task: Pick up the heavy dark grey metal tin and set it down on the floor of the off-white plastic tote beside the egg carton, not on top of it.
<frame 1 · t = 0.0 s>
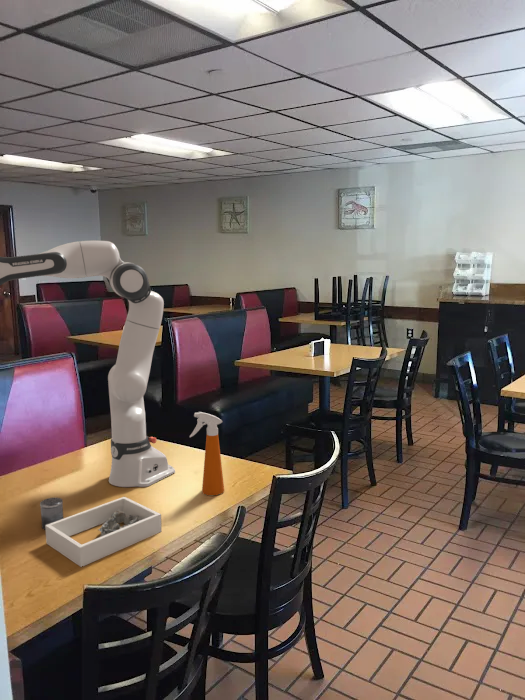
egg carton: (119, 532, 152), resting in tote
metal tin: (52, 525, 155), on the table
tote: (105, 537, 149), on the table
spray bottle: (207, 492, 178), on the table
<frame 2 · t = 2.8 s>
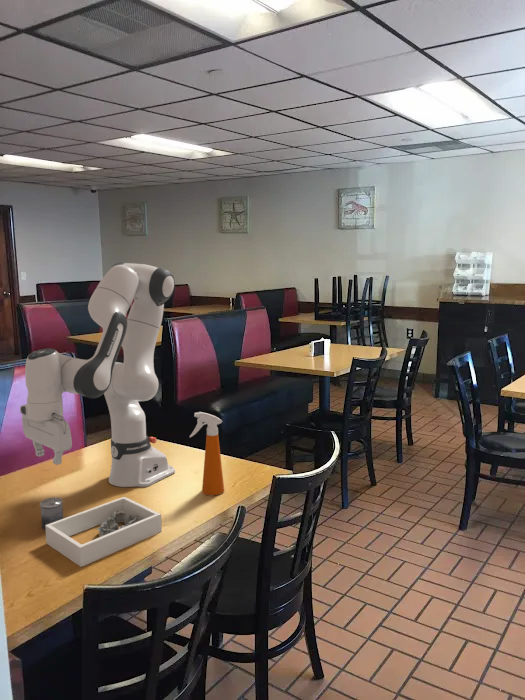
hand: (48, 459, 152), 19 cm above the table, tool pointing down, fingers open, 8 cm apart
nothing on the table moved.
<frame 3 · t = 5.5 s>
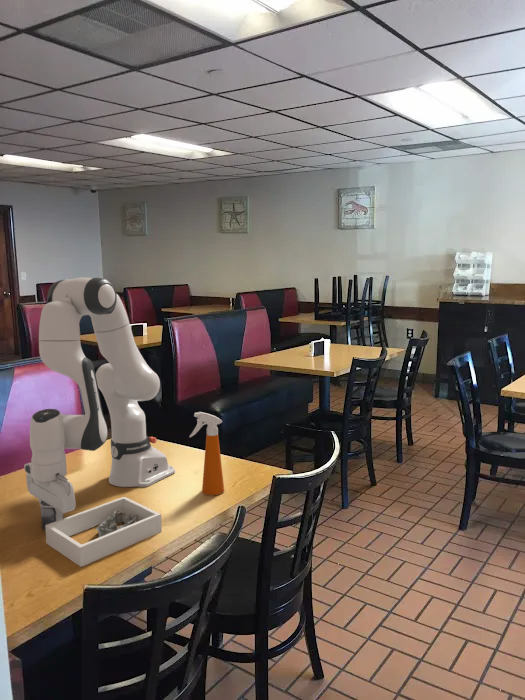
hand: (52, 517, 155), 2 cm above the table, tool pointing down, fingers closed on metal tin, 6 cm apart
metal tin: (52, 525, 155), on the table, touching gripper
everything else where it was.
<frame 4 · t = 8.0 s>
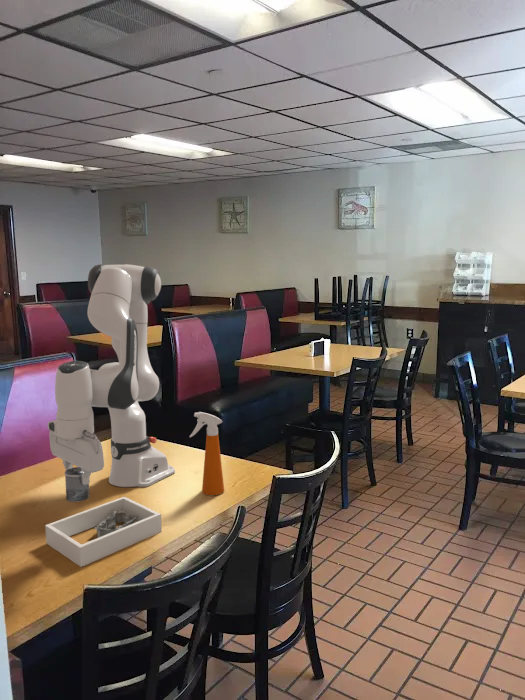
hand: (77, 479, 142), 18 cm above the table, tool pointing down, fingers closed on metal tin, 6 cm apart
metal tin: (77, 497, 143), point 13 cm above the table, touching gripper
everything else where it was.
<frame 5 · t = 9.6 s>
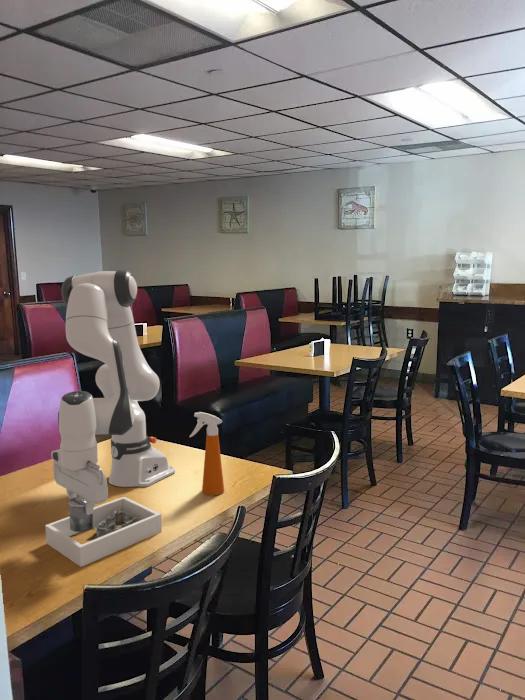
hand: (81, 509, 143), 10 cm above the table, tool pointing down, fingers closed on metal tin, 6 cm apart
metal tin: (81, 526, 143), point 5 cm above the table, touching gripper
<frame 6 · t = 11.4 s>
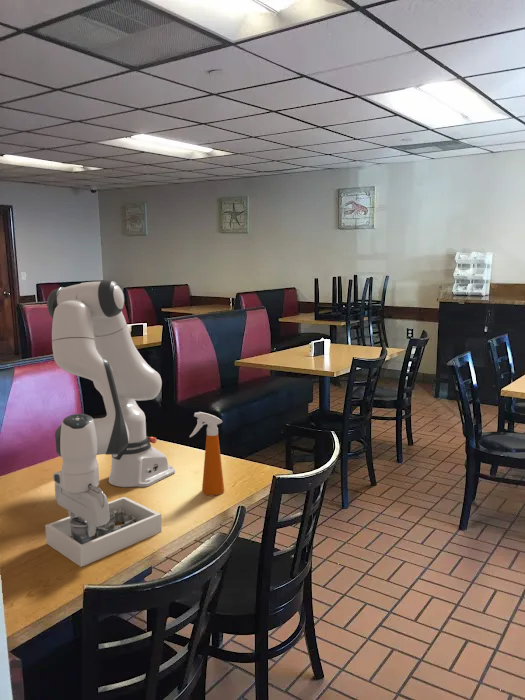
hand: (83, 530, 144), 4 cm above the table, tool pointing down, fingers closed on metal tin, 5 cm apart
metal tin: (83, 546, 144), resting in tote, touching gripper
when the fingers open (4 cm above the table, at t = 11.6 s): metal tin stays where it is, resting in tote.
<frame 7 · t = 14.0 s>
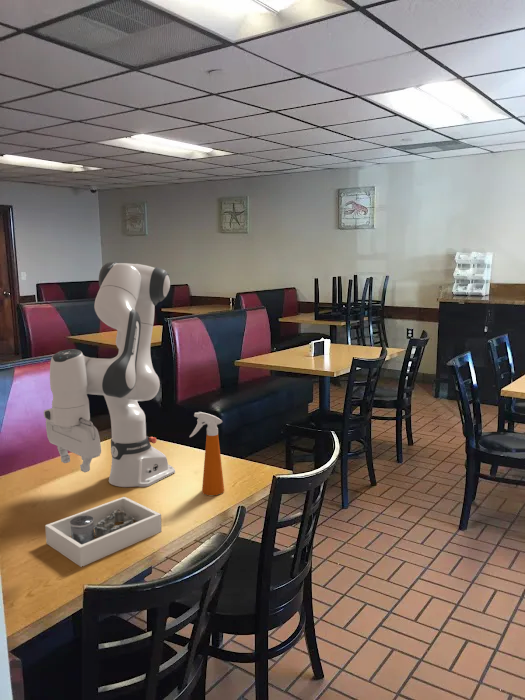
hand: (75, 466, 144), 20 cm above the table, tool pointing down, fingers open, 8 cm apart
metal tin: (83, 546, 144), resting in tote
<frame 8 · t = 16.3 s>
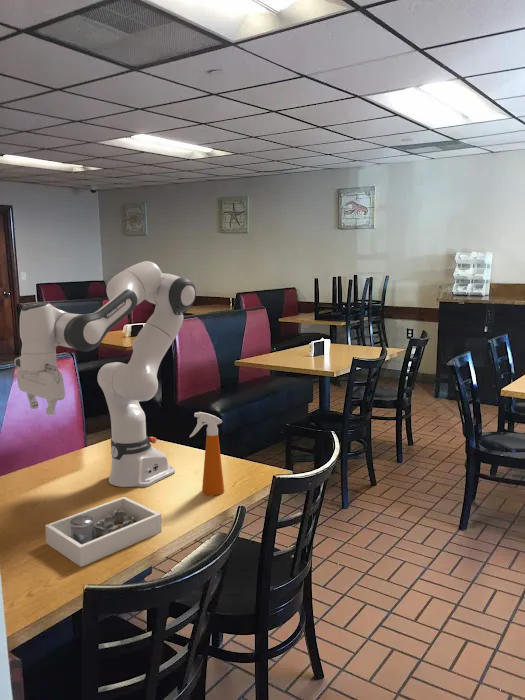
hand: (42, 411, 156), 31 cm above the table, tool pointing down, fingers open, 8 cm apart
at the end: metal tin inside the target area (0.4 cm from its centre), resting in tote; metal tin tilted 0°; egg carton moved 1.9 cm from its start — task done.
